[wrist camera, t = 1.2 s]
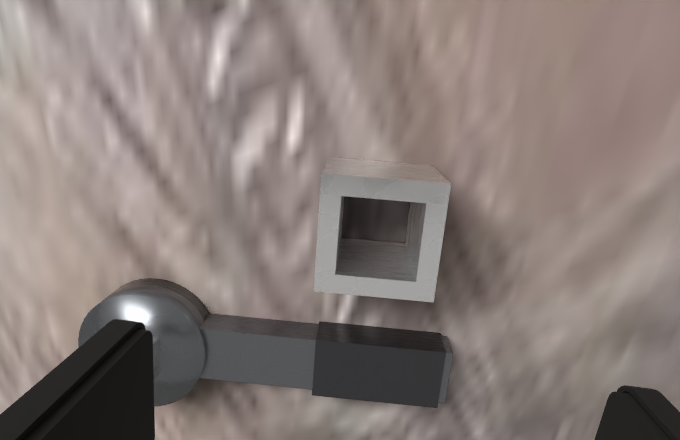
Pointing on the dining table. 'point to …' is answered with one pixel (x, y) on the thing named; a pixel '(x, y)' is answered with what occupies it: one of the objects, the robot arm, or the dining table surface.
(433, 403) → the ratchet
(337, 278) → the socket
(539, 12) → the dining table surface
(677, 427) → the robot arm
